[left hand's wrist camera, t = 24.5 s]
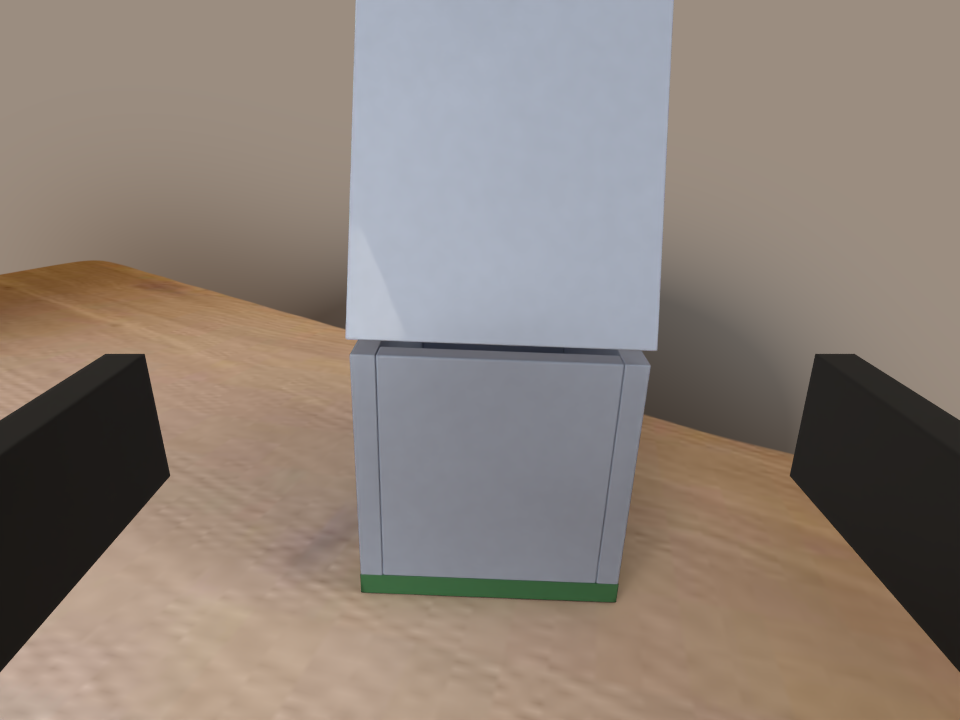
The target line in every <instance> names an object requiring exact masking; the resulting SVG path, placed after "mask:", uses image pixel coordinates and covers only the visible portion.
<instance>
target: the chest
mask: <svg viewBox="0 0 960 720" xmlns="http://www.w3.org/2000/svg"><path fill="white" fill-rule="evenodd" d="M650 368H651V366H650V364H649V362H648V361H647V359H646V357H645V356H644V354H643V352H642V351H641V350H617V349H590V348H563V347H537V346H510V345H484V344H457V343H430V342H404V341H377V340H358V341H357V343H356V344H355V346H354V348H353V350H352V352H351V353H350V371H351V391H352V410H353V430H354V449H355V469H356V488H357V508H358V527H359V546H360V566H361V574H360V577H361V592H368V593H393V594H419V595H444V596H469V597H495V598H520V599H545V600H571V601H596V602H616V598H617V591H618V580H619V573H620V567H621V560H622V553H623V547H624V540H625V534H626V527H627V520H628V514H629V507H630V500H631V494H632V487H633V480H634V474H635V467H636V461H637V454H638V447H639V441H640V434H641V427H642V421H643V414H644V408H645V401H646V394H647V388H648V381H649V374H650Z"/></svg>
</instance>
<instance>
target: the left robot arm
mask: <svg viewBox="0 0 960 720" xmlns="http://www.w3.org/2000/svg"><path fill="white" fill-rule="evenodd" d="M169 476H170V473H169V468H168V463H167V458H166V454H165V449H164V444H163V439H162V435H161V430H160V425H159V420H158V416H157V411H156V406H155V401H154V397H153V392H152V387H151V382H150V377H149V373H148V368H147V363H146V358H145V354H105V355H103V356H102V357H100V358H98V359H97V360H95V361H94V362H92V363H90V364H89V365H87V366H86V367H84V368H82V369H81V370H79V371H78V372H76V373H75V374H73V375H71V376H70V377H68V378H67V379H65V380H63V381H62V382H60V383H59V384H57V385H56V386H54V387H52V388H51V389H49V390H48V391H46V392H44V393H43V394H41V395H40V396H38V397H37V398H35V399H33V400H32V401H30V402H29V403H27V404H25V405H24V406H22V407H21V408H19V409H18V410H16V411H14V412H13V413H11V414H10V415H8V416H6V417H5V418H3V419H2V420H0V672H1V671H2V670H3V668H4V667H5V666H6V665H7V664H8V663H9V661H10V660H11V659H12V658H13V657H14V656H15V654H16V653H17V652H18V651H19V650H20V649H21V648H22V646H23V645H24V644H25V643H26V642H27V641H28V639H29V638H30V637H31V636H32V635H33V634H34V633H35V631H36V630H37V629H38V628H39V627H40V626H41V624H42V623H43V622H44V621H45V620H46V619H47V618H48V616H49V615H50V614H51V613H52V612H53V611H54V609H55V608H56V607H57V606H58V605H59V604H60V602H61V601H62V600H63V599H64V598H65V597H66V596H67V594H68V593H69V592H70V591H71V590H72V589H73V587H74V586H75V585H76V584H77V583H78V582H79V581H80V579H81V578H82V577H83V576H84V575H85V574H86V572H87V571H88V570H89V569H90V568H91V567H92V565H93V564H94V563H95V562H96V561H97V560H98V559H99V557H100V556H101V555H102V554H103V553H104V552H105V550H106V549H107V548H108V547H109V546H110V545H111V544H112V542H113V541H114V540H115V539H116V538H117V537H118V535H119V534H120V533H121V532H122V531H123V530H124V529H125V527H126V526H127V525H128V524H129V523H130V522H131V520H132V519H133V518H134V517H135V516H136V515H137V513H138V512H139V511H140V510H141V509H142V508H143V507H144V505H145V504H146V503H147V502H148V501H149V500H150V498H151V497H152V496H153V495H154V494H155V493H156V492H157V490H158V489H159V488H160V487H161V486H162V485H163V483H164V482H165V481H166V480H167V479H168V478H169ZM790 476H791V478H792V479H793V480H794V481H795V482H796V483H797V485H798V486H799V487H800V488H801V489H802V490H803V492H804V493H805V494H806V495H807V496H808V497H809V498H810V500H811V501H812V502H813V503H814V504H815V505H816V507H817V508H818V509H819V510H820V511H821V512H822V513H823V515H824V516H825V517H826V518H827V519H828V520H829V522H830V523H831V524H832V525H833V526H834V527H835V529H836V530H837V531H838V532H839V533H840V534H841V535H842V537H843V538H844V539H845V540H846V541H847V542H848V544H849V545H850V546H851V547H852V548H853V549H854V550H855V552H856V553H857V554H858V555H859V556H860V557H861V559H862V560H863V561H864V562H865V563H866V564H867V565H868V567H869V568H870V569H871V570H872V571H873V572H874V574H875V575H876V576H877V577H878V578H879V579H880V581H881V582H882V583H883V584H884V585H885V586H886V587H887V589H888V590H889V591H890V592H891V593H892V594H893V596H894V597H895V598H896V599H897V600H898V601H899V602H900V604H901V605H902V606H903V607H904V608H905V609H906V611H907V612H908V613H909V614H910V615H911V616H912V618H913V619H914V620H915V621H916V622H917V623H918V624H919V626H920V627H921V628H922V629H923V630H924V631H925V633H926V634H927V635H928V636H929V637H930V638H931V639H932V641H933V642H934V643H935V644H936V645H937V646H938V648H939V649H940V650H941V651H942V652H943V653H944V654H945V656H946V657H947V658H948V659H949V660H950V661H951V663H952V664H953V665H954V666H955V667H956V668H957V670H958V671H959V672H960V420H958V419H957V418H955V417H953V416H952V415H950V414H949V413H947V412H946V411H944V410H942V409H941V408H939V407H938V406H936V405H935V404H933V403H931V402H930V401H928V400H927V399H925V398H923V397H922V396H920V395H919V394H917V393H916V392H914V391H912V390H911V389H909V388H908V387H906V386H904V385H903V384H901V383H900V382H898V381H896V380H895V379H893V378H892V377H890V376H889V375H887V374H885V373H884V372H882V371H881V370H879V369H877V368H876V367H874V366H873V365H871V364H870V363H868V362H866V361H865V360H863V359H862V358H860V357H858V356H857V355H855V354H815V358H814V363H813V368H812V373H811V377H810V382H809V387H808V392H807V397H806V401H805V406H804V411H803V416H802V420H801V425H800V430H799V435H798V439H797V444H796V449H795V454H794V458H793V463H792V468H791V473H790Z"/></svg>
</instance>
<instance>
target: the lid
mask: <svg viewBox="0 0 960 720" xmlns="http://www.w3.org/2000/svg"><path fill="white" fill-rule="evenodd" d="M673 4H674V0H356V13H355V46H354V79H353V111H352V112H353V113H352V145H351V177H350V211H349V243H348V276H347V309H346V339H350V340H377V341H404V342H430V343H457V344H484V345H510V346H537V347H563V348H590V349H617V350H644V351H657V345H658V324H659V303H660V281H661V260H662V239H663V218H664V196H665V175H666V154H667V132H668V111H669V89H670V69H671V47H672V26H673Z"/></svg>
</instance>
